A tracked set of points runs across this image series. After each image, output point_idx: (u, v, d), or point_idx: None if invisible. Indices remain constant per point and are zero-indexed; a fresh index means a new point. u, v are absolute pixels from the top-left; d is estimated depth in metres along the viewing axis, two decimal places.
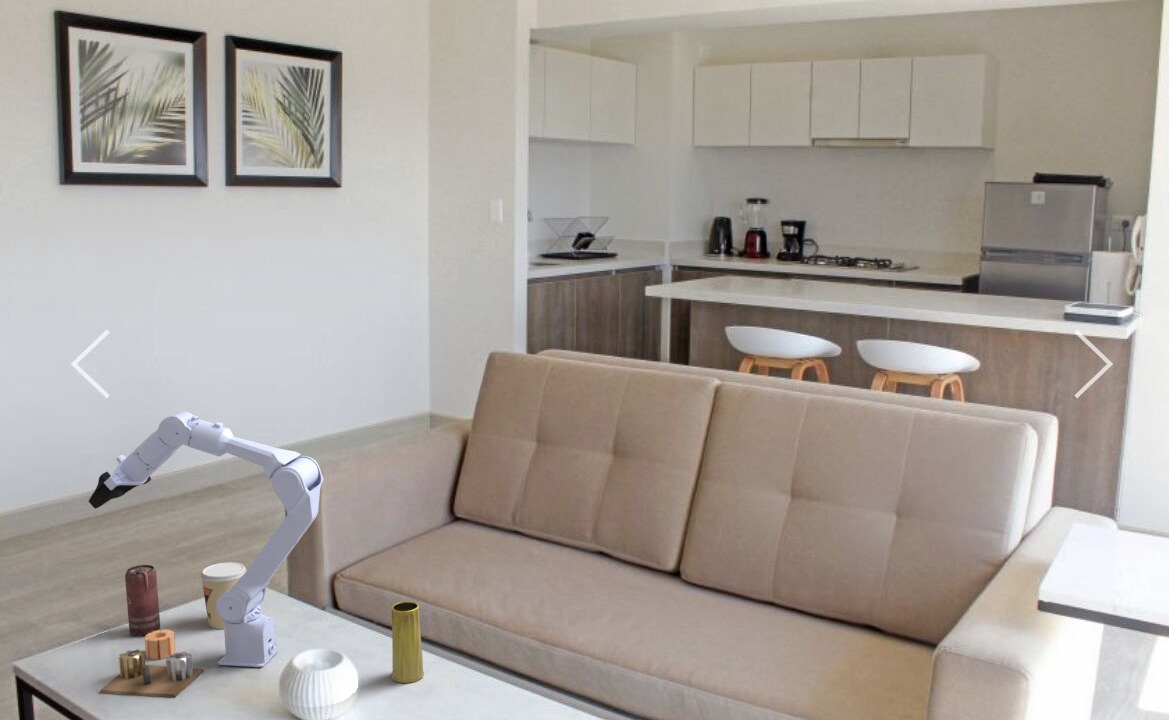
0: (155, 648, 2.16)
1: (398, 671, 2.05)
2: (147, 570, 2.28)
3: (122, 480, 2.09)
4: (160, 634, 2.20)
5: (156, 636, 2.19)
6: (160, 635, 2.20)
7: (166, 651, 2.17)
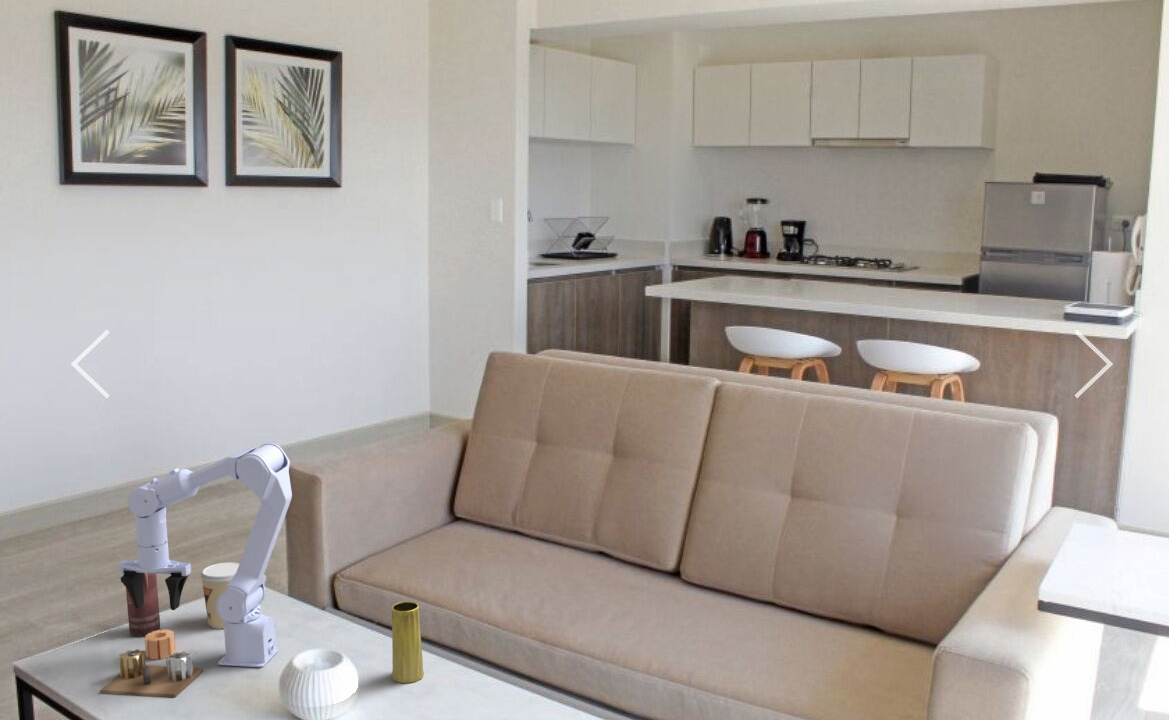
0: (155, 648, 2.16)
1: (398, 671, 2.05)
2: None
3: None
4: (160, 634, 2.20)
5: (156, 636, 2.19)
6: (160, 635, 2.20)
7: (166, 651, 2.17)
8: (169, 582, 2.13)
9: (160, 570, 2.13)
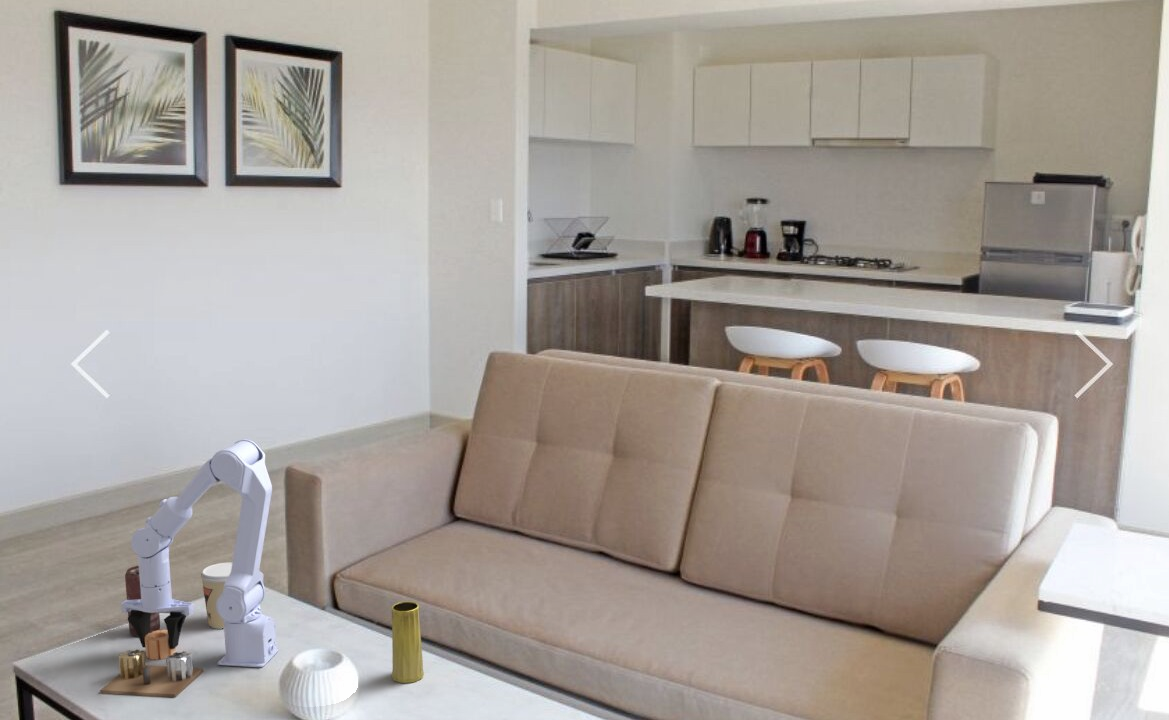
0: (155, 648, 2.16)
1: (398, 671, 2.05)
2: None
3: None
4: (160, 634, 2.20)
5: (156, 636, 2.19)
6: (160, 635, 2.20)
7: (166, 651, 2.17)
8: (168, 622, 2.15)
9: (163, 610, 2.15)
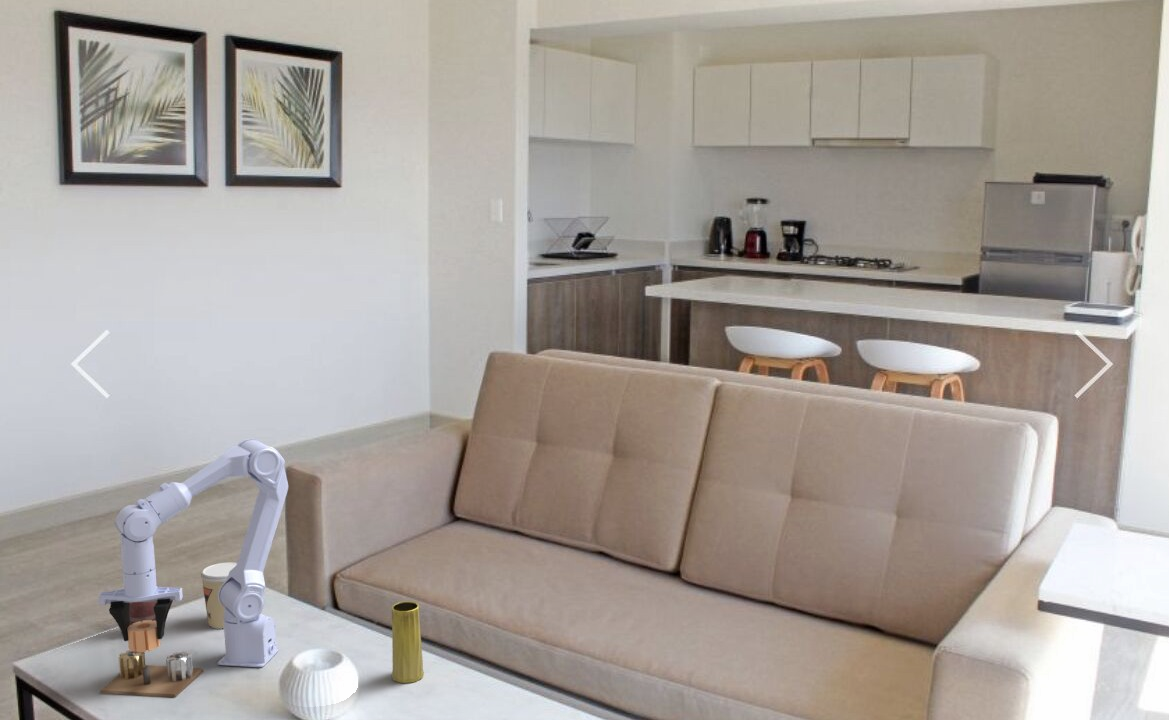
0: (143, 639, 2.01)
1: (398, 671, 2.05)
2: None
3: None
4: (142, 625, 2.05)
5: (138, 628, 2.04)
6: (142, 626, 2.05)
7: (154, 642, 2.03)
8: (158, 609, 2.01)
9: (152, 597, 2.01)
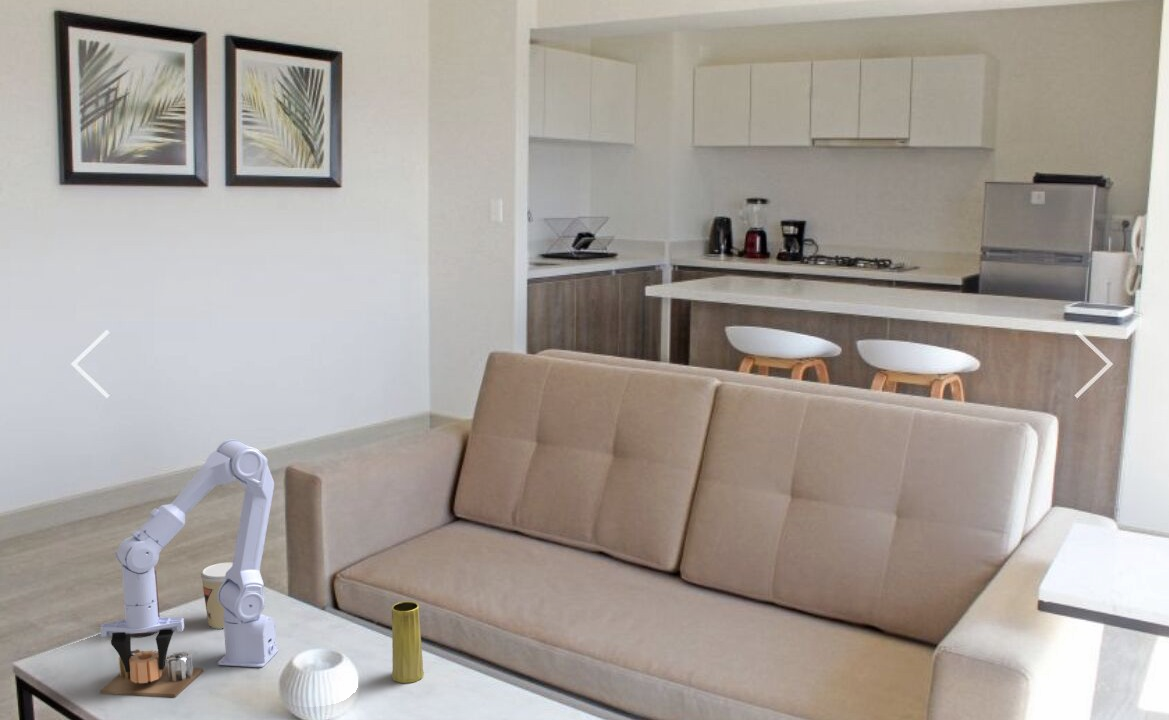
0: (145, 670, 2.01)
1: (398, 671, 2.05)
2: None
3: (114, 627, 2.01)
4: (144, 656, 2.05)
5: (140, 658, 2.04)
6: (144, 657, 2.05)
7: (156, 672, 2.03)
8: (160, 640, 2.01)
9: (154, 628, 2.01)
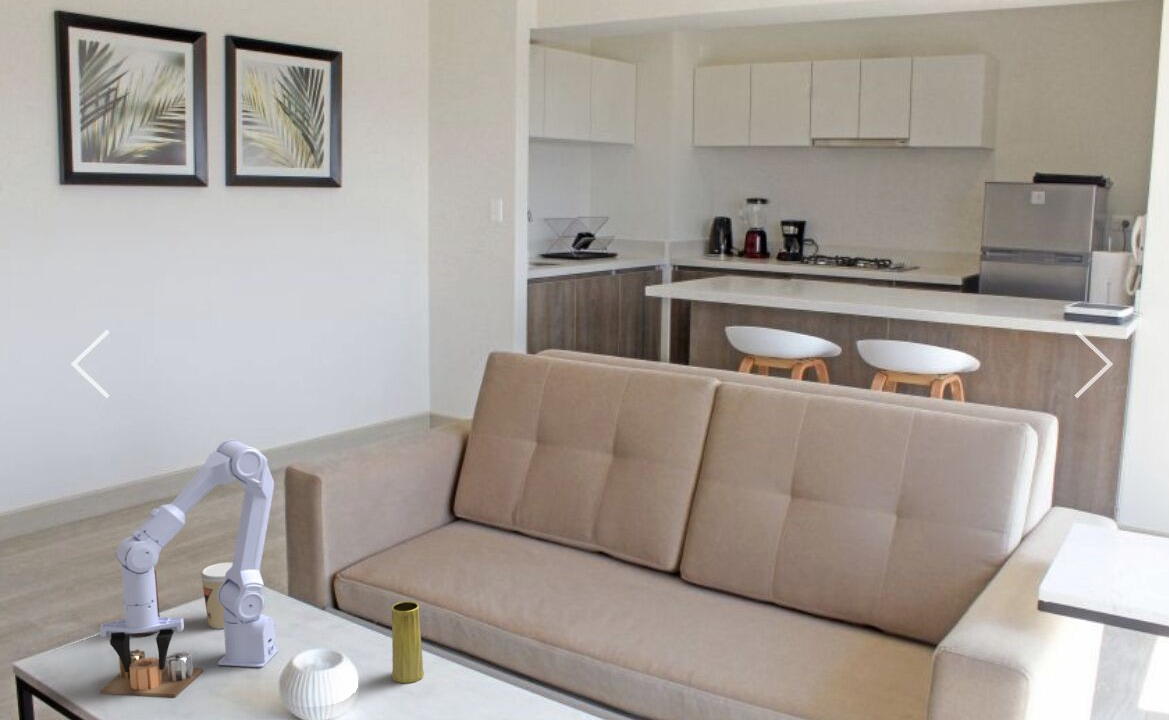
0: (146, 677, 2.02)
1: (398, 671, 2.05)
2: None
3: (114, 626, 2.01)
4: (144, 663, 2.05)
5: (140, 665, 2.05)
6: (144, 664, 2.05)
7: (156, 679, 2.03)
8: (160, 640, 2.01)
9: (153, 628, 2.01)
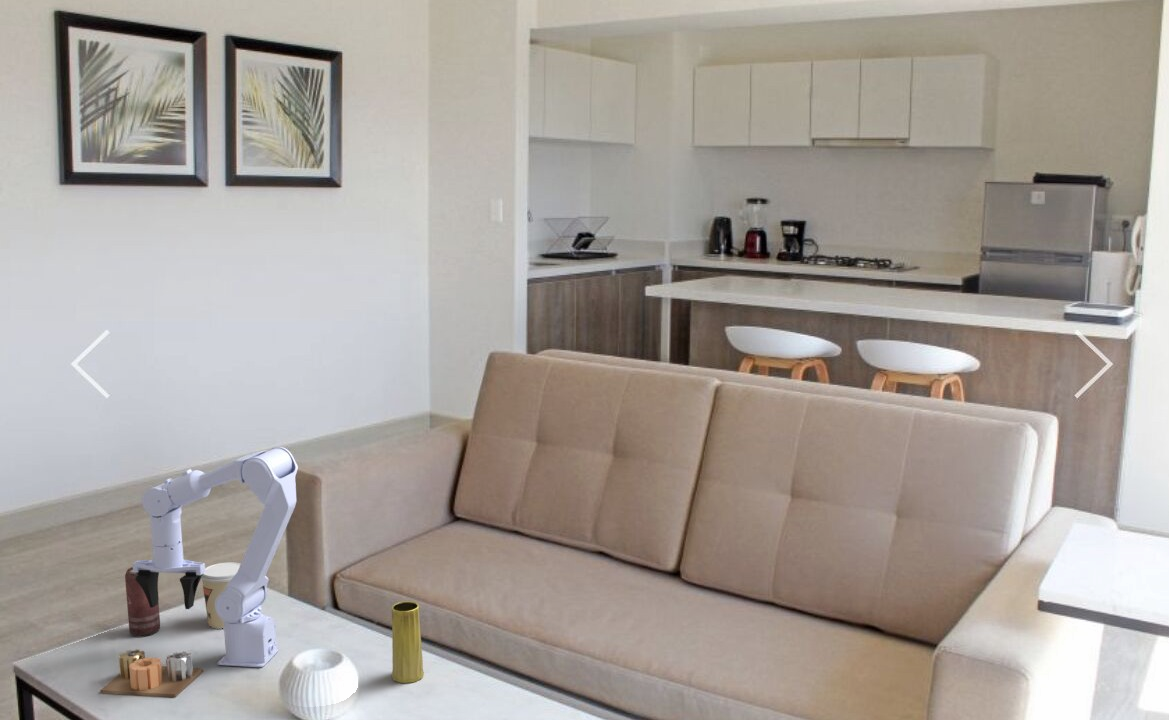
0: (146, 677, 2.02)
1: (398, 671, 2.05)
2: None
3: None
4: (144, 663, 2.05)
5: (140, 665, 2.05)
6: (144, 664, 2.05)
7: (156, 679, 2.03)
8: (184, 581, 2.15)
9: (175, 569, 2.15)
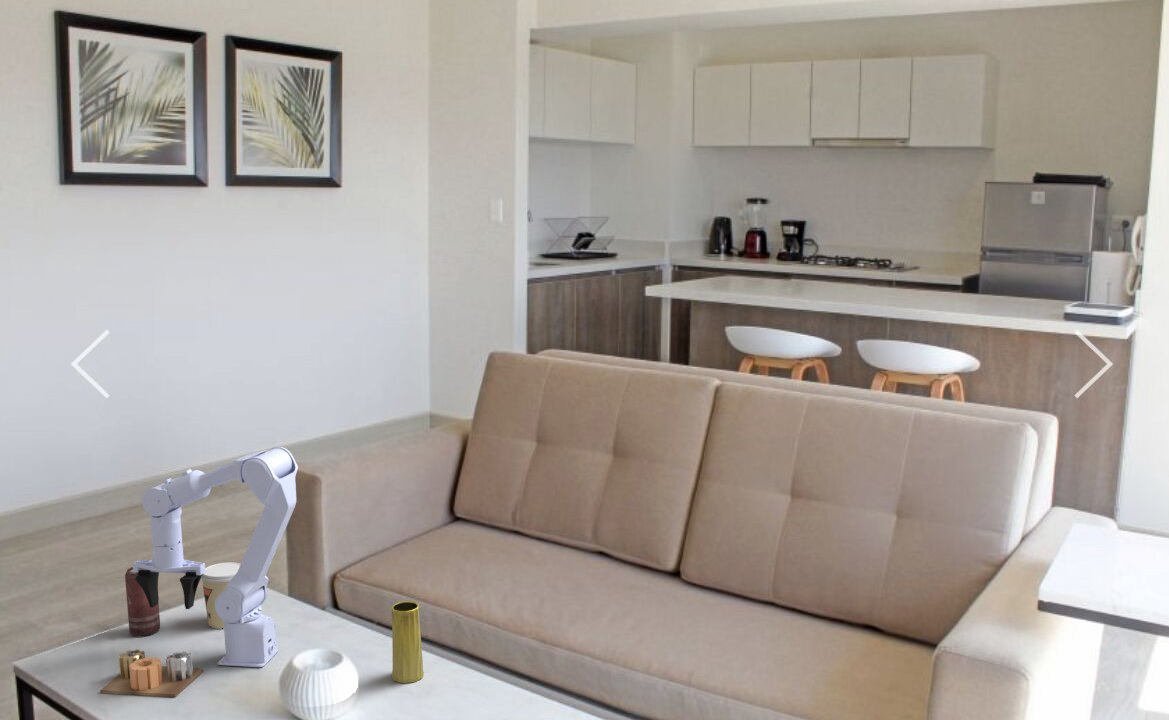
0: (146, 677, 2.02)
1: (398, 671, 2.05)
2: None
3: None
4: (144, 663, 2.05)
5: (140, 665, 2.05)
6: (144, 664, 2.05)
7: (156, 679, 2.03)
8: (184, 581, 2.15)
9: (175, 569, 2.15)
